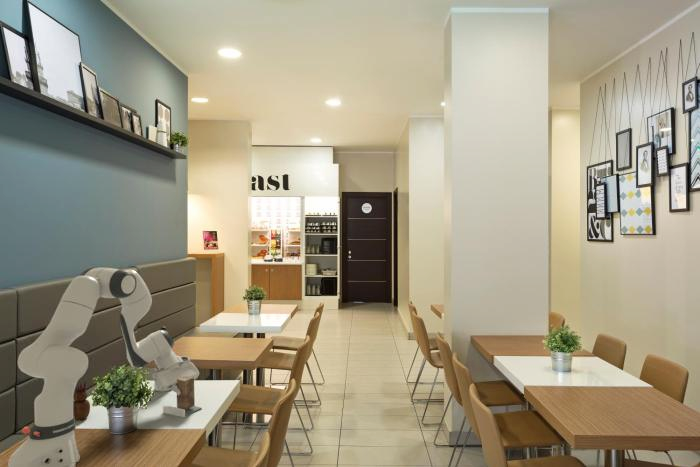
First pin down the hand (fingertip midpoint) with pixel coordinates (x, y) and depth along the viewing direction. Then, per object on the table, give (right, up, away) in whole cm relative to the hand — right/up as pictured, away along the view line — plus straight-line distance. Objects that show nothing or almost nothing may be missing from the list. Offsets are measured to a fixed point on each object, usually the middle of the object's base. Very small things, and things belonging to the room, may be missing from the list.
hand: (186, 391), depth 213 cm
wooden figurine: (-41, -9, -6) cm, 43 cm away
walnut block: (0, -6, 0) cm, 6 cm away
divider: (-4, -8, -4) cm, 10 cm away
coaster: (0, -8, +1) cm, 8 cm away
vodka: (-20, -8, +30) cm, 37 cm away
